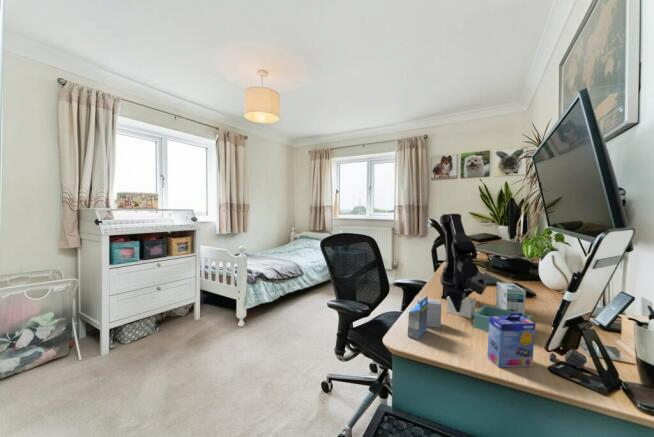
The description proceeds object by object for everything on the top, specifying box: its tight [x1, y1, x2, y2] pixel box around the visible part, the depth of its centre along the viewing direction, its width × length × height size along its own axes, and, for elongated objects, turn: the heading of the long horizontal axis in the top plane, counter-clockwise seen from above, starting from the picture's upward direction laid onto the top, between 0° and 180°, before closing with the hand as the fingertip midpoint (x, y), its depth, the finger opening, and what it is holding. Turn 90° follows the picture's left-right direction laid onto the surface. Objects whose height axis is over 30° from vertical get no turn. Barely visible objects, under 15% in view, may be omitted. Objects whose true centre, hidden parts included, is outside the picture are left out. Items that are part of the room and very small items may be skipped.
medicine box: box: [417, 297, 442, 328], centre depth 99 cm, size 8×4×9 cm, turn 71°
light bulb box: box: [495, 281, 527, 314], centre depth 111 cm, size 11×7×11 cm, turn 168°
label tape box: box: [407, 295, 429, 340], centre depth 92 cm, size 9×4×12 cm, turn 145°
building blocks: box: [543, 343, 588, 369], centre depth 76 cm, size 3×6×8 cm
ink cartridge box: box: [487, 313, 536, 368], centre depth 75 cm, size 10×6×14 cm, turn 95°
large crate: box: [473, 304, 533, 333], centre depth 96 cm, size 15×13×5 cm
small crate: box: [445, 296, 477, 319], centre depth 109 cm, size 9×6×6 cm, turn 47°
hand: (460, 309), depth 110 cm, fingers closed on small crate, 6 cm apart
